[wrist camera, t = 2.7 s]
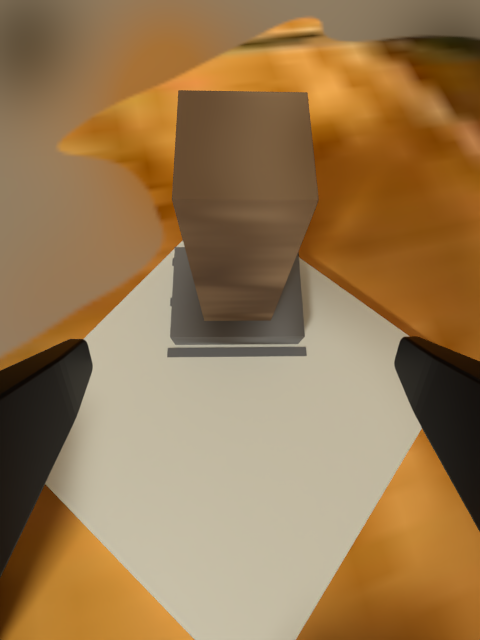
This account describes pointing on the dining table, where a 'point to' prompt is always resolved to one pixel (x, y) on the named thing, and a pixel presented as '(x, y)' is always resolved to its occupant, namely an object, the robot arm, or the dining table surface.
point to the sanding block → (241, 216)
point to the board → (235, 456)
